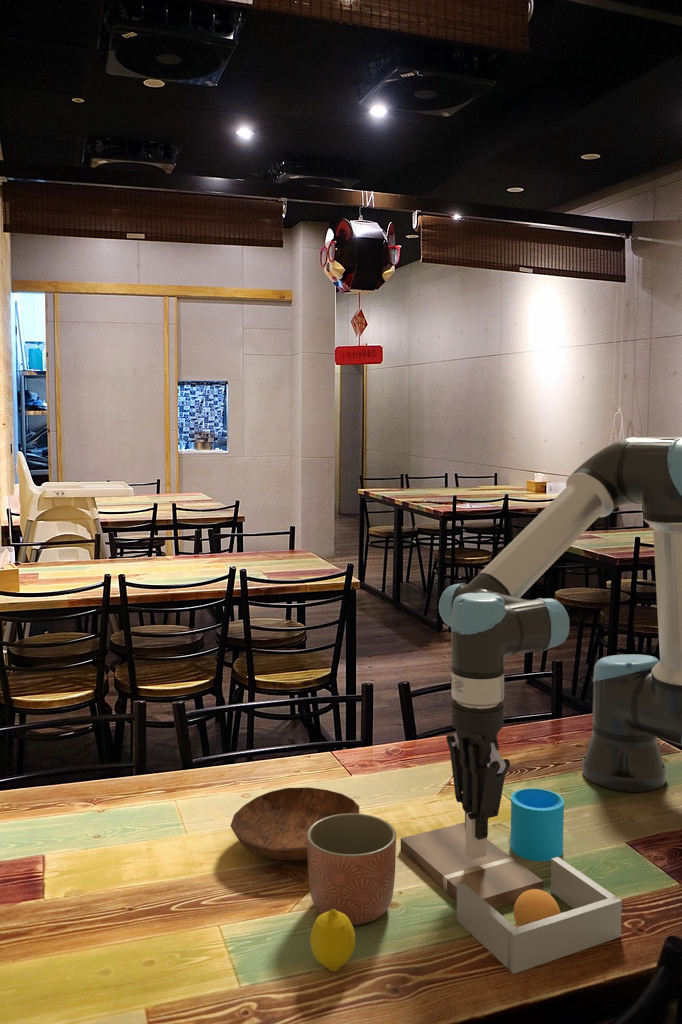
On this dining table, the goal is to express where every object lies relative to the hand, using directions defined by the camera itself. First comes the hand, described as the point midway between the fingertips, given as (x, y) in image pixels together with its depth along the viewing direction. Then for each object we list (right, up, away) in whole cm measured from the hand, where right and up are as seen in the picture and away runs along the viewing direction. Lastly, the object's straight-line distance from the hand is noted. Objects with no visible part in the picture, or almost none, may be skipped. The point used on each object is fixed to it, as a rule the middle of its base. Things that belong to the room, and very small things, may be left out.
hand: (476, 855), depth 126 cm
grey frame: (+6, -5, -12) cm, 14 cm away
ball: (+6, -2, -14) cm, 16 cm away
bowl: (-27, -3, +11) cm, 29 cm away
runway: (-1, -3, +2) cm, 4 cm away
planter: (-18, -5, -7) cm, 20 cm away
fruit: (-21, -6, -21) cm, 30 cm away
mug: (+11, -3, +11) cm, 15 cm away
